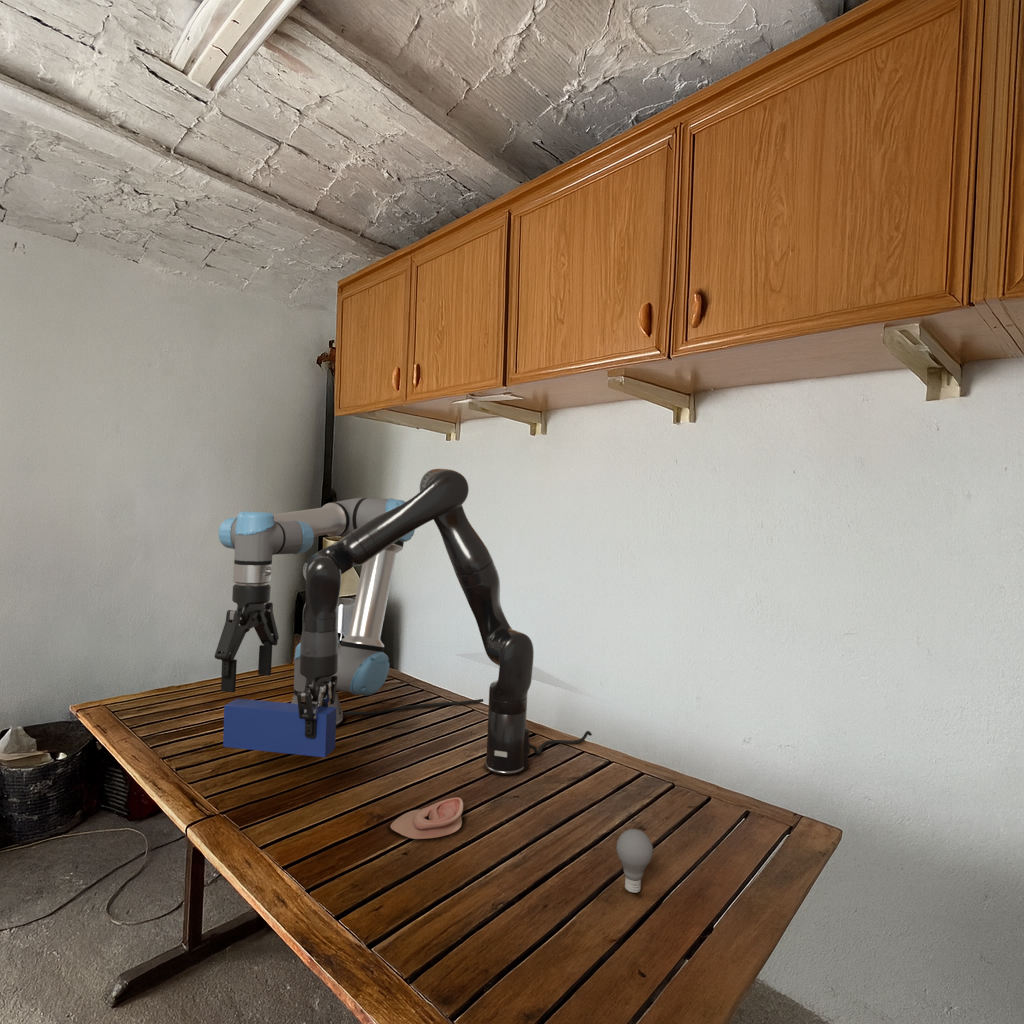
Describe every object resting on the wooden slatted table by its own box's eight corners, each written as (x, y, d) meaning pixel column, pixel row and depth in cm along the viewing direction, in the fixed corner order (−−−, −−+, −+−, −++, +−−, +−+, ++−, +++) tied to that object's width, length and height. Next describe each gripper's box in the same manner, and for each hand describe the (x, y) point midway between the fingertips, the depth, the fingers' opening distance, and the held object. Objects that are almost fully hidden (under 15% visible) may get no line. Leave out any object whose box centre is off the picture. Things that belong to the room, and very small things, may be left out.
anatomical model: (384, 813, 120) (406, 787, 131) (383, 834, 120) (405, 806, 131) (452, 824, 117) (468, 796, 128) (451, 845, 117) (467, 815, 128)
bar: (223, 746, 132) (224, 705, 132) (236, 738, 137) (237, 698, 137) (325, 757, 129) (326, 715, 129) (335, 748, 134) (336, 707, 133)
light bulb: (610, 879, 108) (613, 822, 108) (644, 879, 109) (647, 822, 109) (619, 902, 102) (622, 840, 102) (655, 901, 103) (658, 840, 103)
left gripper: (233, 591, 123) (228, 701, 123) (297, 579, 147) (292, 670, 147) (198, 589, 124) (193, 697, 124) (267, 576, 148) (262, 667, 148)
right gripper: (320, 660, 124) (318, 747, 124) (350, 644, 138) (348, 722, 138) (285, 657, 125) (282, 743, 125) (318, 642, 139) (315, 719, 139)
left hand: (247, 682), depth 136 cm, fingers open, 13 cm apart
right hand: (316, 731), depth 132 cm, fingers closed on bar, 5 cm apart
